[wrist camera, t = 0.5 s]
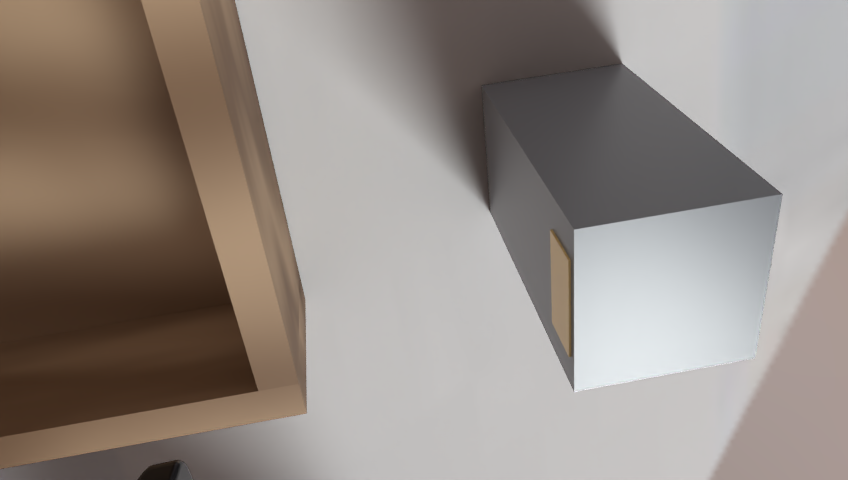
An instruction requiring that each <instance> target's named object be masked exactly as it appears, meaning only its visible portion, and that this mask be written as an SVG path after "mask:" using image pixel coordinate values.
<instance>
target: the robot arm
mask: <svg viewBox="0 0 848 480" xmlns="http://www.w3.org/2000/svg"><path fill="white" fill-rule="evenodd" d="M138 480H193V478H192V476H191V474H190V471H189V469H188V467H187V465H186V464H185V463H184V462H183V461H181V460H174V461H170V462H165V463H160V464H156V465H152V466H150V467H148V468H147V469H146V470H145V471H144V472H143V473H142V475H141V476H140V477H139V479H138Z"/></svg>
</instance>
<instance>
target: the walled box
mask: <svg viewBox="0 0 848 480" xmlns="http://www.w3.org/2000/svg"><path fill="white" fill-rule="evenodd" d="M306 413H307V402H306V319H305V297H304V292H303V288H302V284H301V280H300V275H299V271H298V267H297V263H296V258H295V254H294V250H293V246H292V241H291V237H290V233H289V229H288V225H287V220H286V216H285V212H284V208H283V203H282V199H281V195H280V191H279V186H278V182H277V178H276V174H275V169H274V165H273V161H272V157H271V152H270V148H269V144H268V140H267V135H266V131H265V127H264V123H263V118H262V114H261V110H260V106H259V101H258V97H257V93H256V89H255V84H254V80H253V76H252V72H251V67H250V63H249V59H248V55H247V50H246V46H245V42H244V38H243V33H242V29H241V25H240V21H239V17H238V12H237V8H236V4H235V0H0V469H3V468H9V467H14V466H20V465H25V464H31V463H36V462H42V461H47V460H53V459H58V458H64V457H69V456H75V455H80V454H86V453H91V452H97V451H102V450H108V449H113V448H119V447H124V446H130V445H135V444H141V443H146V442H152V441H157V440H163V439H168V438H174V437H179V436H185V435H190V434H196V433H201V432H207V431H212V430H218V429H223V428H229V427H234V426H240V425H245V424H251V423H256V422H262V421H267V420H273V419H278V418H284V417H289V416H295V415H300V414H306Z"/></svg>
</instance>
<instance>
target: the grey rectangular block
mask: <svg viewBox="0 0 848 480" xmlns="http://www.w3.org/2000/svg"><path fill="white" fill-rule="evenodd" d="M482 100H483V114H484V129H485V143H486V158H487V172H488V186H489V201H490V213H491V215H492V217H493V219H494V221H495V223H496V225H497V228H498V230H499V232H500V234H501V236H502V238H503V240H504V243H505V245H506V247H507V249H508V251H509V253H510V255H511V258H512V260H513V262H514V264H515V266H516V268H517V270H518V273H519V275H520V277H521V279H522V281H523V283H524V285H525V288H526V290H527V292H528V294H529V296H530V298H531V300H532V303H533V305H534V307H535V309H536V311H537V313H538V315H539V318H540V320H541V322H542V324H543V326H544V328H545V330H546V333H547V335H548V337H549V339H550V341H551V343H552V345H553V348H554V350H555V352H556V354H557V356H558V358H559V360H560V363H561V365H562V367H563V369H564V371H565V373H566V375H567V378H568V380H569V382H570V384H571V386H572V388H573V390H574V392H577V391H582V390H588V389H593V388H598V387H604V386H609V385H614V384H620V383H625V382H631V381H636V380H641V379H647V378H652V377H658V376H663V375H668V374H674V373H679V372H684V371H690V370H695V369H701V368H706V367H711V366H717V365H722V364H728V363H733V362H738V361H744V360H749V359H754V358H756V352H757V345H758V339H759V333H760V327H761V321H762V315H763V309H764V303H765V297H766V291H767V285H768V279H769V273H770V267H771V261H772V255H773V249H774V243H775V237H776V231H777V225H778V219H779V212H780V206H781V200H782V193H781V192H779V191H778V190H777V189H776V188H774V187H773V186H772V185H771V184H769V183H768V182H767V181H766V180H765V179H763V178H762V177H761V176H760V175H758V174H757V173H756V172H755V171H754V170H752V169H751V168H750V167H749V166H747V165H746V164H745V163H744V162H742V161H741V160H740V159H739V158H738V157H736V156H735V155H734V154H733V153H731V152H730V151H729V150H728V149H726V148H725V147H724V146H723V145H722V144H720V143H719V142H718V141H717V140H715V139H714V138H713V137H712V136H711V135H709V134H708V133H707V132H706V131H704V130H703V129H702V128H701V127H699V126H698V125H697V124H696V123H695V122H693V121H692V120H691V119H690V118H688V117H687V116H686V115H685V114H684V113H682V112H681V111H680V110H679V109H677V108H676V107H675V106H674V105H672V104H671V103H670V102H669V101H668V100H666V99H665V98H664V97H663V96H661V95H660V94H659V93H658V92H657V91H655V90H654V89H653V88H652V87H650V86H649V85H648V84H647V83H645V82H644V81H643V80H642V79H641V78H639V77H638V76H637V75H636V74H634V73H633V72H632V71H631V70H630V69H628V68H627V67H626V66H625V65H623V64H618V65H611V66H605V67H598V68H592V69H585V70H579V71H572V72H566V73H559V74H553V75H547V76H540V77H534V78H527V79H521V80H514V81H508V82H501V83H495V84H488V85H482Z"/></svg>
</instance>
